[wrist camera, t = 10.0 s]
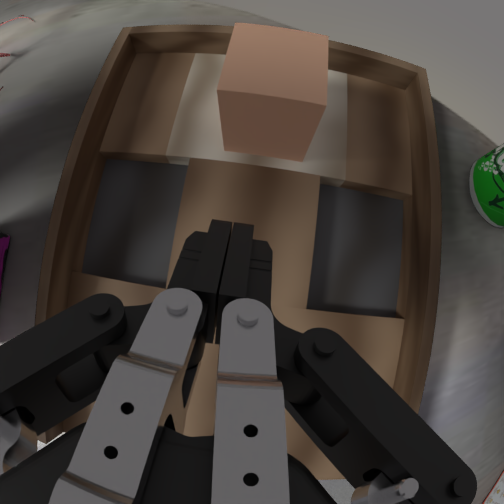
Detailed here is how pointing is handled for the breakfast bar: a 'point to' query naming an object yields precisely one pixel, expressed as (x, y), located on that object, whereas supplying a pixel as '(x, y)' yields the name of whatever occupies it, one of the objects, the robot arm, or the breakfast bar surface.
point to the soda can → (489, 186)
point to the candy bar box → (3, 254)
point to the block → (272, 90)
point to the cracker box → (496, 492)
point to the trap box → (256, 206)
